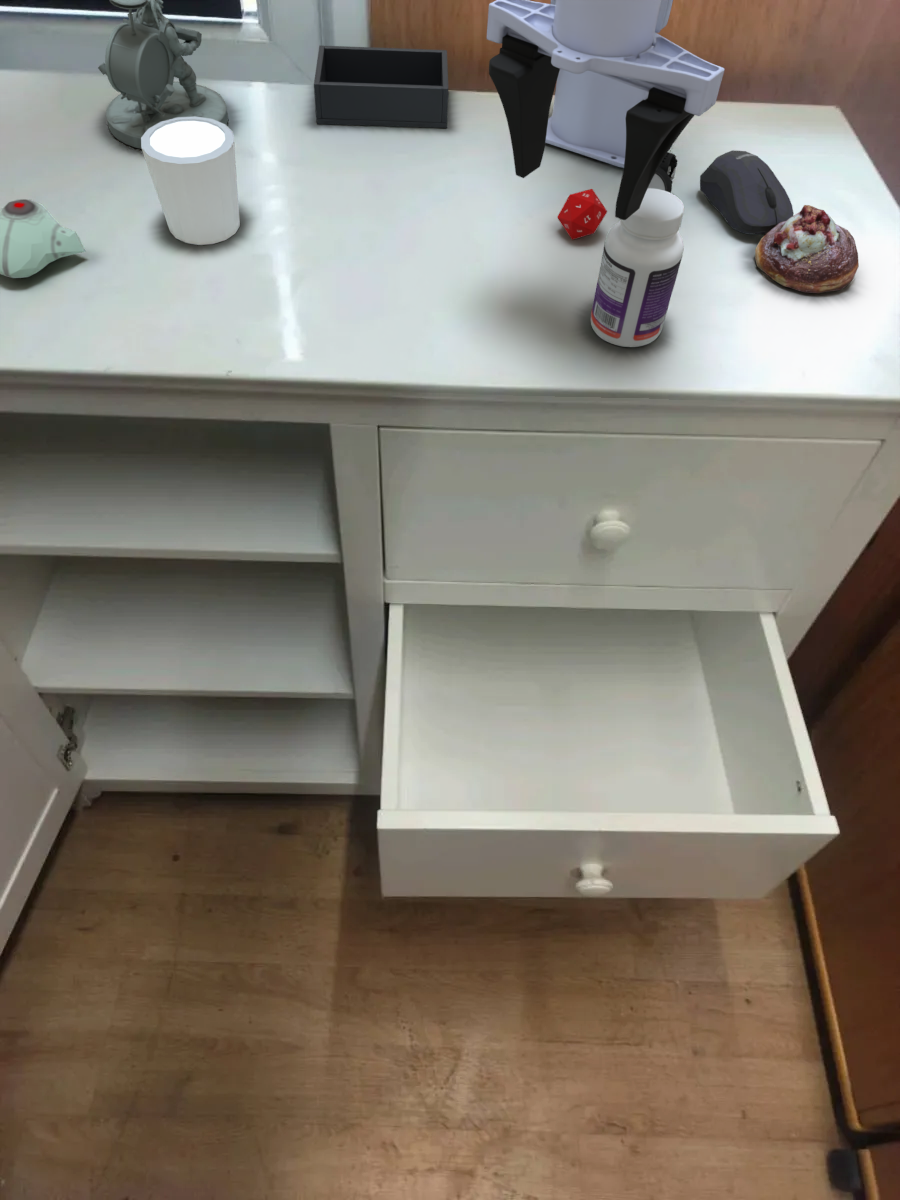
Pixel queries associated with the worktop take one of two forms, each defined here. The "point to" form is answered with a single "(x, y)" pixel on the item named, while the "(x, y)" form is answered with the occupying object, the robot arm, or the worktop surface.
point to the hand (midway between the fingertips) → (576, 191)
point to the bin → (381, 86)
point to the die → (582, 214)
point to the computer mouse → (746, 192)
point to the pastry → (808, 253)
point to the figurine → (153, 73)
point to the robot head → (32, 239)
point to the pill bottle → (639, 272)
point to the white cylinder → (194, 177)
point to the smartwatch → (665, 173)
